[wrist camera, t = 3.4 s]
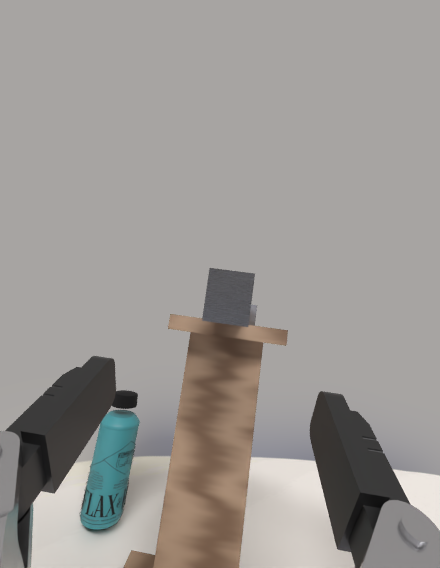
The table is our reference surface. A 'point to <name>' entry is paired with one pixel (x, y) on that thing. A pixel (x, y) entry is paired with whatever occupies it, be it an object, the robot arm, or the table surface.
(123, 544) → the table surface
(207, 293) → the steel bar
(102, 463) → the beverage bottle
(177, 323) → the walnut pedestal
